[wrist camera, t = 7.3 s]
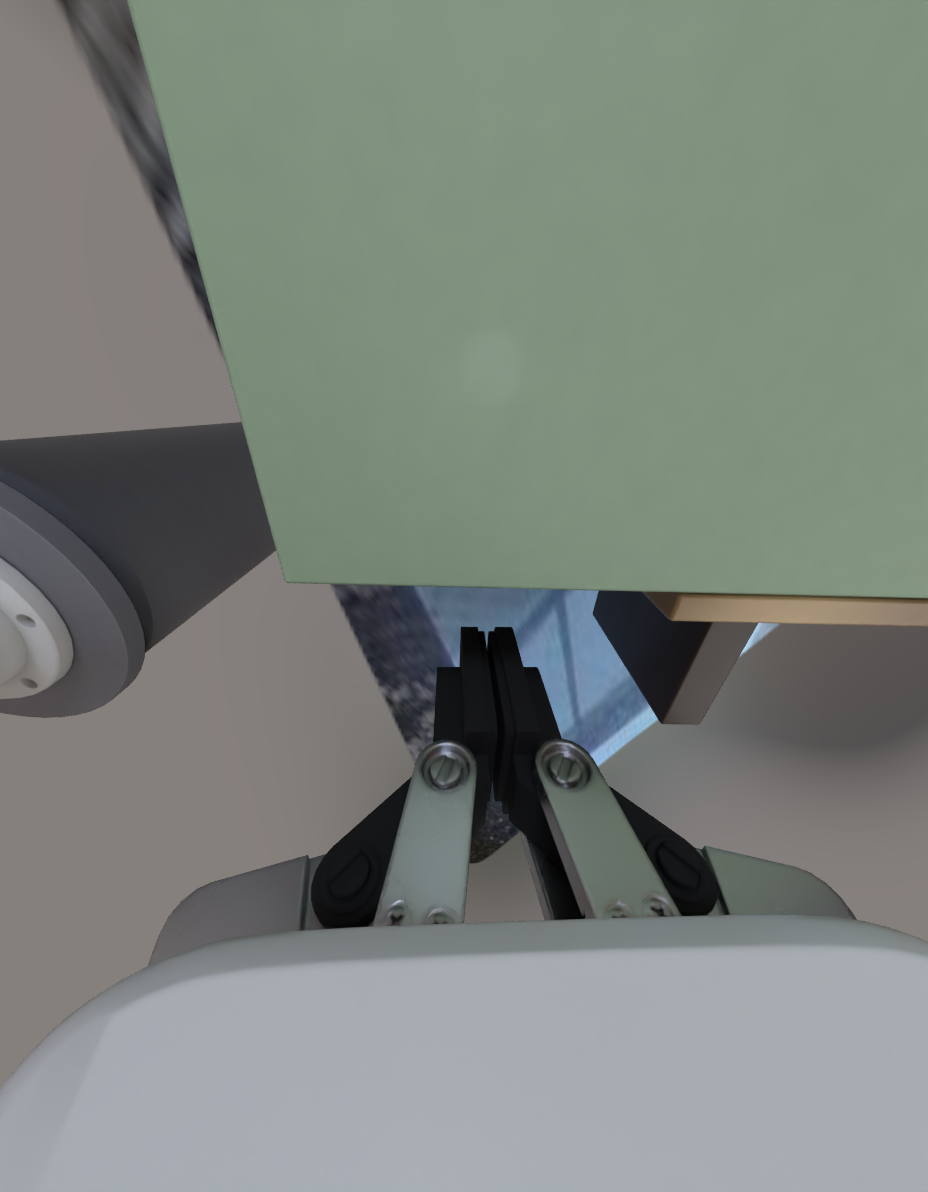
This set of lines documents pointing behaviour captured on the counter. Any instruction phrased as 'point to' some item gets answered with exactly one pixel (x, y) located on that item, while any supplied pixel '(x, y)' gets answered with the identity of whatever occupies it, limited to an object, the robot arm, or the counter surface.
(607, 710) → the counter surface
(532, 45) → the cupboard
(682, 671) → the sliding door
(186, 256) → the counter surface
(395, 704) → the counter surface
